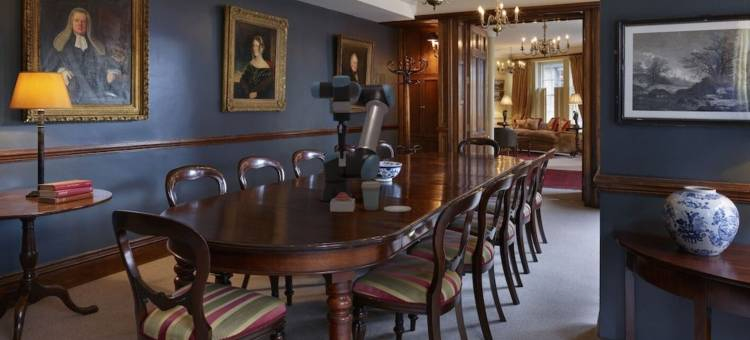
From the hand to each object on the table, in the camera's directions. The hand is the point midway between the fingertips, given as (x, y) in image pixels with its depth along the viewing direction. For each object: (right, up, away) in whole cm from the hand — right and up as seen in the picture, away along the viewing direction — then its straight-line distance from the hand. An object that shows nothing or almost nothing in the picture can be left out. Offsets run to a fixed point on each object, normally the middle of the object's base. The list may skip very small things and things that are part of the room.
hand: (342, 165), depth 249 cm
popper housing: (0, -19, +2) cm, 19 cm away
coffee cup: (+13, -19, +3) cm, 23 cm away
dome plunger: (0, -17, +2) cm, 17 cm away
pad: (+24, -19, +2) cm, 31 cm away
